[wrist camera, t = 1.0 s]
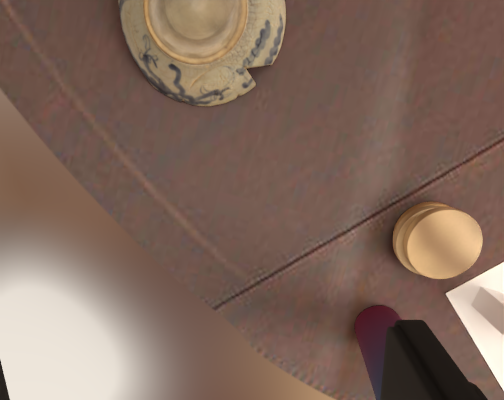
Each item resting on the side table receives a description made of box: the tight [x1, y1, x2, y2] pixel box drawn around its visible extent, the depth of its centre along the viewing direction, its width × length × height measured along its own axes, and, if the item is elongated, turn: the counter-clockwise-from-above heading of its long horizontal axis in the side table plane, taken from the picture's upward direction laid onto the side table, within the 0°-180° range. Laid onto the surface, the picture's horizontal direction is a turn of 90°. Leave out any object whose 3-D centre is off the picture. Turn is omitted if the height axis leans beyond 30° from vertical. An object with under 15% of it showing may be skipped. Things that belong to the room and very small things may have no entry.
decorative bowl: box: [118, 0, 286, 106], centre depth 31 cm, size 15×4×15 cm
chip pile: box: [393, 202, 483, 279], centre depth 36 cm, size 8×7×3 cm
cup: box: [355, 306, 402, 400], centre depth 33 cm, size 7×7×15 cm
